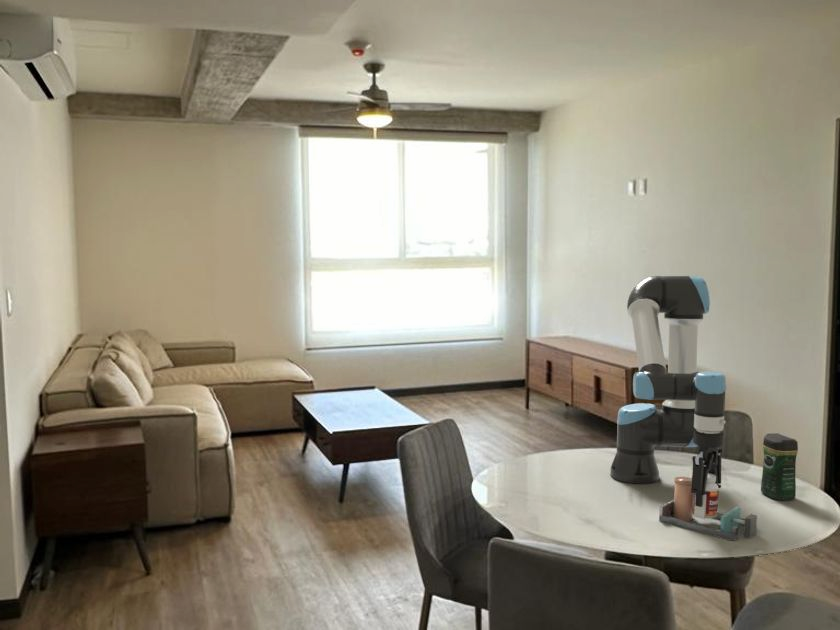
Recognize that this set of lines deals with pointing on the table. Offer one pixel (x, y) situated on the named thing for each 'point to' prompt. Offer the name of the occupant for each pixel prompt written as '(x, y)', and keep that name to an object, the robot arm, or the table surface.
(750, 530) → the pusher plate
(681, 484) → the tan rounded cylinder
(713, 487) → the pill bottle
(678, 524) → the grey rail frame
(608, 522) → the table surface
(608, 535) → the table surface
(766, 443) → the coffee jar
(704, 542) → the table surface
